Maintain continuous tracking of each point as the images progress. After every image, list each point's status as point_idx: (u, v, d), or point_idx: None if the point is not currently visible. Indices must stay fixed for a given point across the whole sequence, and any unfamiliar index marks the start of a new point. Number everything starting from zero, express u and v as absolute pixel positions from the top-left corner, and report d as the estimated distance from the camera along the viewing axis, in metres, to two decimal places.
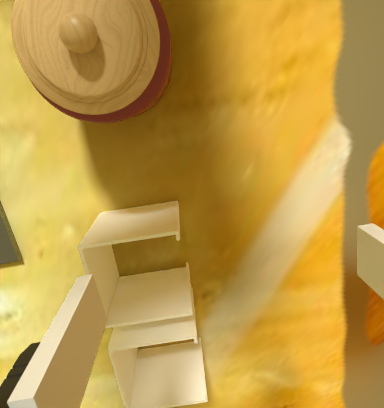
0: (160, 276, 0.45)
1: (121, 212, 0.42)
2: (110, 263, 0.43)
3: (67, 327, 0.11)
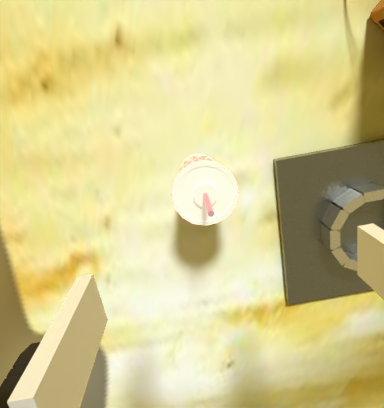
0: None
1: None
2: None
3: (67, 327, 0.11)
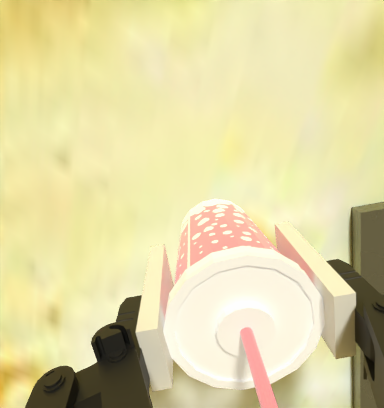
0: None
1: None
2: None
3: (161, 282, 0.13)
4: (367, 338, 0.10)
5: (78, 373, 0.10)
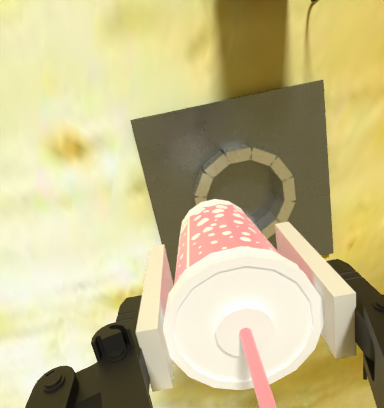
0: None
1: None
2: None
3: (161, 282, 0.13)
4: (367, 338, 0.10)
5: (78, 373, 0.10)
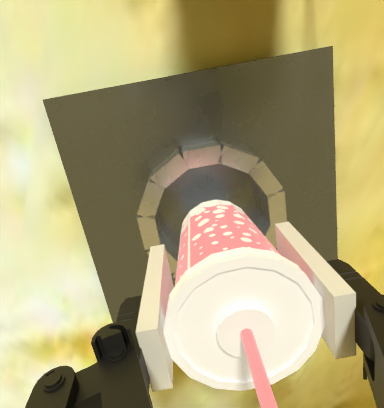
0: None
1: None
2: None
3: (161, 282, 0.13)
4: (367, 338, 0.10)
5: (78, 373, 0.10)
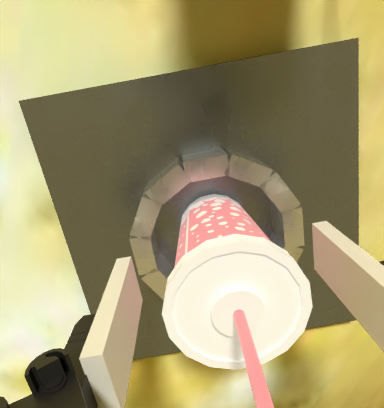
0: None
1: None
2: None
3: (118, 299, 0.12)
4: None
5: (15, 403, 0.09)
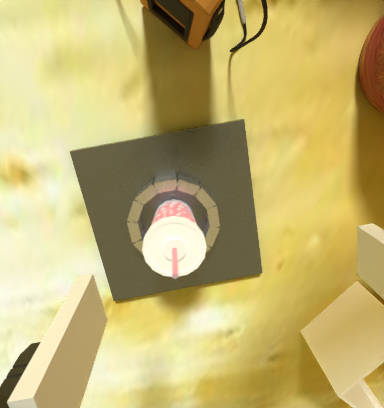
0: None
1: None
2: None
3: (66, 327, 0.11)
4: None
5: None
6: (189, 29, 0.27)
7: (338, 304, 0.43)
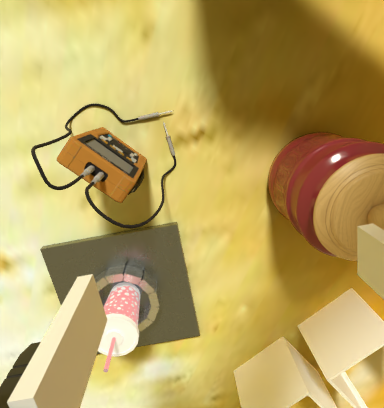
0: None
1: None
2: None
3: (66, 327, 0.11)
4: None
5: None
6: None
7: (265, 354, 0.52)
